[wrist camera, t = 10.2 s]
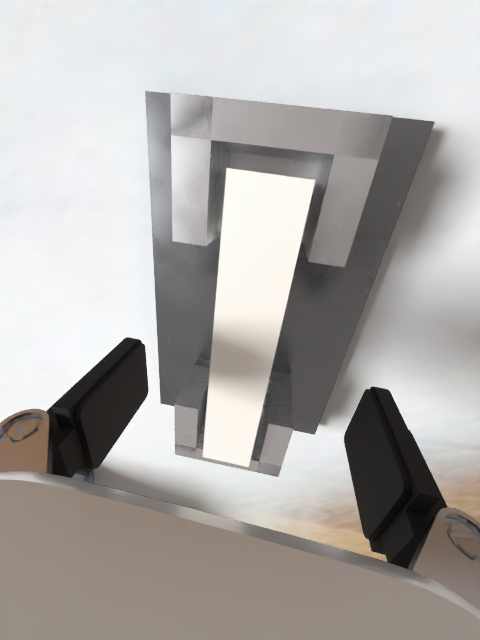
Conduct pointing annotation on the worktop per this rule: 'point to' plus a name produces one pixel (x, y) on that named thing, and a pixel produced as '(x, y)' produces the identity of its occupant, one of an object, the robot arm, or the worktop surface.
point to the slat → (250, 303)
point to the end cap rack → (313, 258)
